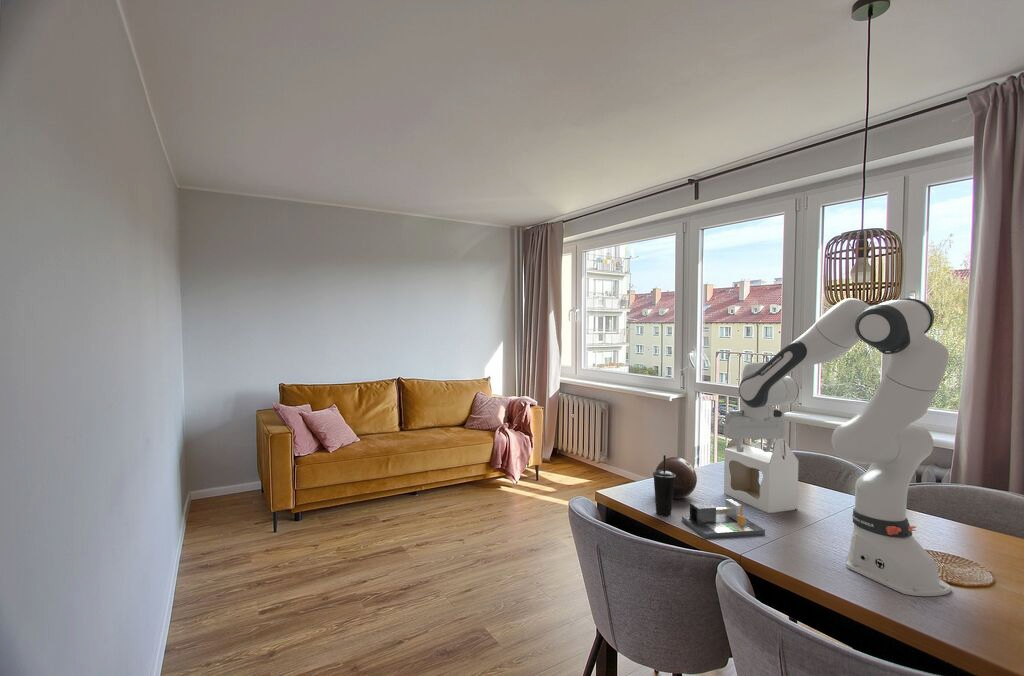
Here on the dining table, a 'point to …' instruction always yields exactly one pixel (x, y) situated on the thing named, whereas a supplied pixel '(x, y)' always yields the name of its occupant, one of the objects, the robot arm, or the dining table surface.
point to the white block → (730, 509)
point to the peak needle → (741, 517)
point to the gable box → (777, 476)
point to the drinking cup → (664, 490)
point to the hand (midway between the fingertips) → (753, 451)
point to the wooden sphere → (680, 476)
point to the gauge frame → (717, 523)
